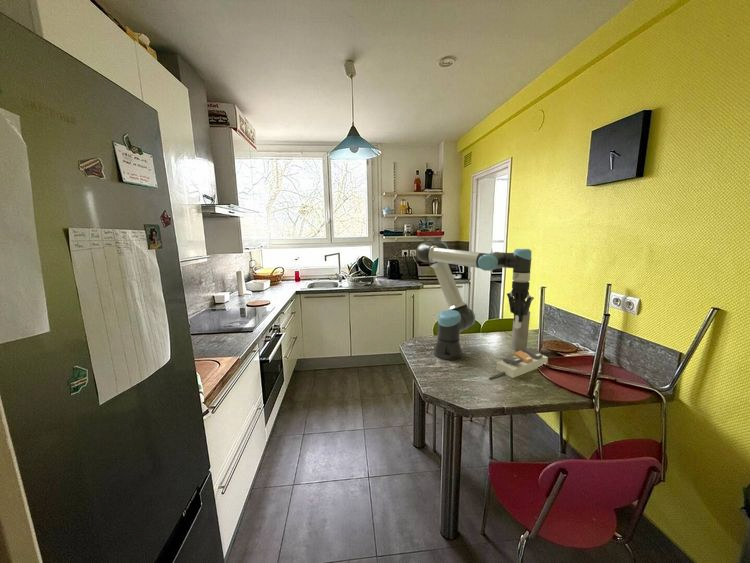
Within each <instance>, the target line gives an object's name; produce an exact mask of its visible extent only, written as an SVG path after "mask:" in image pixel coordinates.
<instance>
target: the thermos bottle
mask: <svg viewBox="0 0 750 563" xmlns="http://www.w3.org/2000/svg"><path fill="white" fill-rule="evenodd" d="M525 303H526V300H525ZM524 306H525V304H524ZM530 318H531V311H530V309H529V310H528V314H527V315H524V316H523V321H522V322H521V328H518V329H516V328H515V321H514V319H513V320H512V321H513V322H512V330H511V331H512V334H511V343H510V344H511V346H510V348H511V349H512V350H513V351H515V352H518V351H522V352H524V349H527V348H528V340H529V339H528V338H529V326H530V320H531V319H530ZM524 353H525V352H524Z"/></svg>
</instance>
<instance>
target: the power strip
mask: <svg viewBox="0 0 750 563" xmlns="http://www.w3.org/2000/svg"><path fill="white" fill-rule="evenodd" d="M524 353H525V352H524ZM525 354H527V353H525ZM527 355H528V354H527ZM542 355H543V356H542V358H539V359H535V358H533V357H532V358H533V361H531V362H528V363H525V362H524V361H523V362H521V363H518V364H513V363H508V362H503V359H501V360H500V361H496V368H495V369H496V371H498V372H500V373H497V374H493V375H491V376H489V377H488V379H489V380H492V379H494V378H497V377H500V376H503V375H506V376H508V377H510V378H512V379H514V378H516V377H518V376H521V375H523V374H527V373H530V372H532V371H534V370H535V371H536V370H537V369H539V368H538V367H540V366H542V365H543V364H544V363H547V364H548V361H549V360H548V359H549V357H548V356H546V355H545V354H542ZM529 356H530V355H529ZM513 357H516V356H514V355H513ZM530 357H531V356H530ZM516 358H517V357H516ZM542 367H543V366H542ZM540 368H541V367H540Z"/></svg>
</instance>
